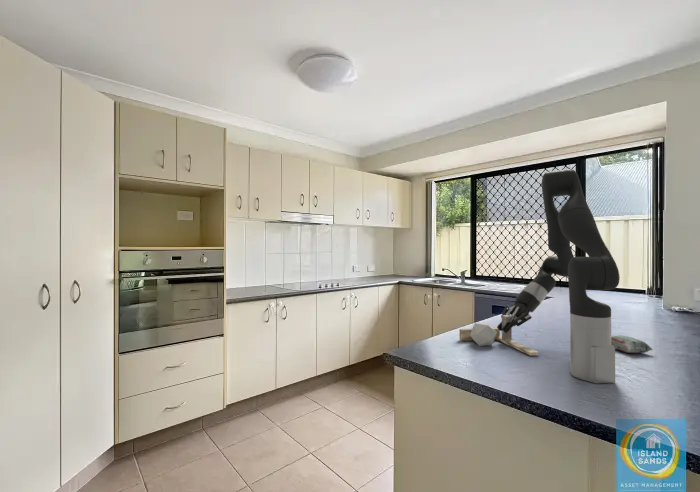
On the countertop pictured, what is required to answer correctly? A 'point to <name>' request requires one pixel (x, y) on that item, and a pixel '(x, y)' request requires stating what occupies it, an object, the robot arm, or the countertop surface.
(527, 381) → the countertop surface
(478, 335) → the die
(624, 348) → the packaged food
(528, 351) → the l-shaped corner bracket
